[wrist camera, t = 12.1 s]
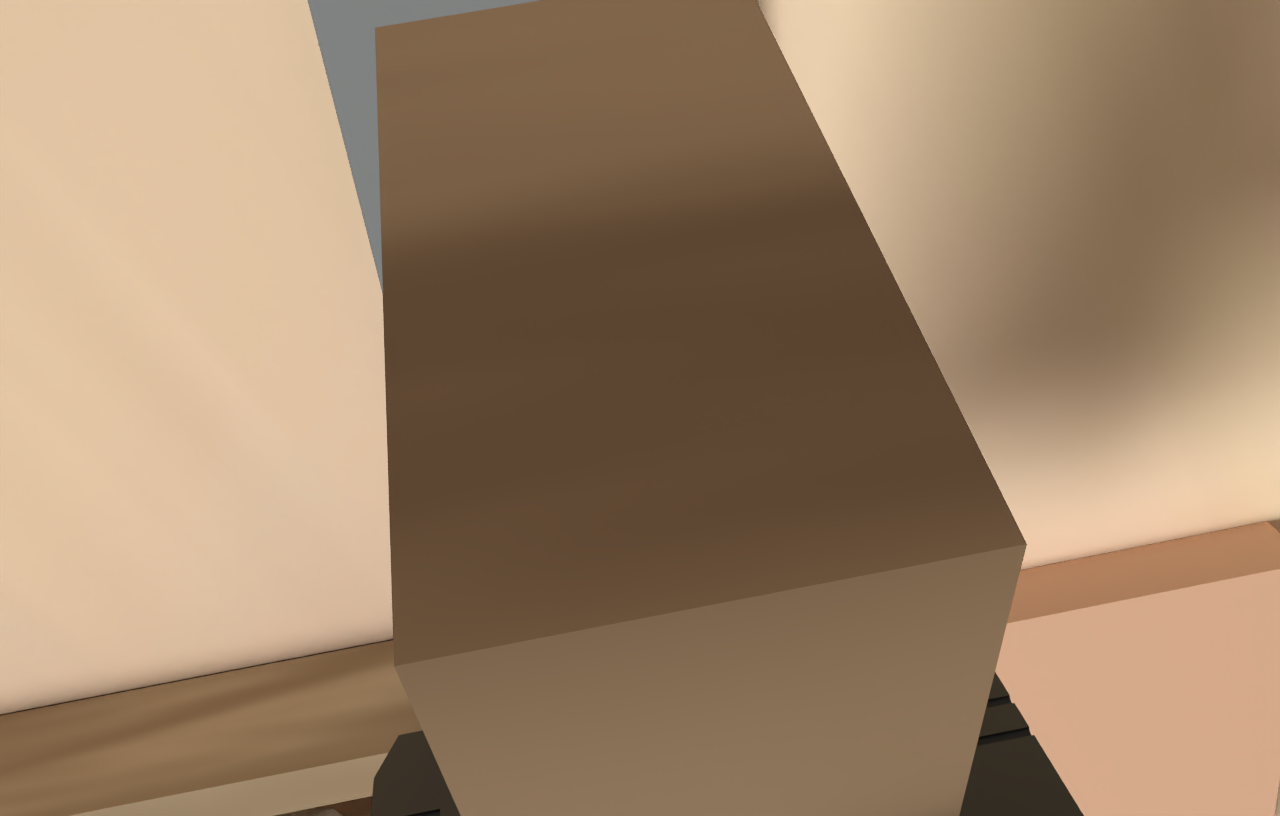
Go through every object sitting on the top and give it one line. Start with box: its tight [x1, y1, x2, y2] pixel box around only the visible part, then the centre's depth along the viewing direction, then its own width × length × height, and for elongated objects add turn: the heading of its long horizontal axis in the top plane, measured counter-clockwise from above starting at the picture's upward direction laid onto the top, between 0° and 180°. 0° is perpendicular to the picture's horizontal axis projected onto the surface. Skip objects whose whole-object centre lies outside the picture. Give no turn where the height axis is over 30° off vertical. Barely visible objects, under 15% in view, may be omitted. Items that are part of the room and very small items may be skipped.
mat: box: [308, 0, 541, 293], centre depth 22 cm, size 14×7×1 cm, turn 8°
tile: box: [995, 521, 1280, 816], centre depth 29 cm, size 2×10×10 cm
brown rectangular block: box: [375, 0, 1027, 816], centre depth 12 cm, size 12×3×6 cm, turn 8°
